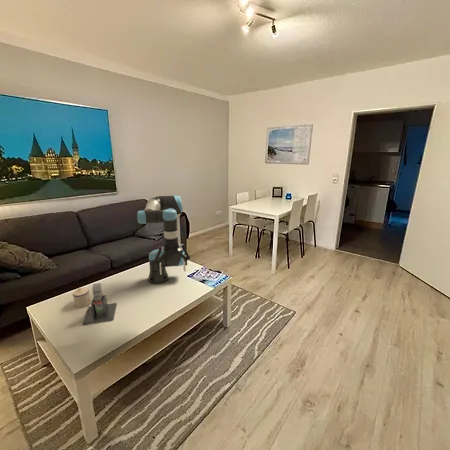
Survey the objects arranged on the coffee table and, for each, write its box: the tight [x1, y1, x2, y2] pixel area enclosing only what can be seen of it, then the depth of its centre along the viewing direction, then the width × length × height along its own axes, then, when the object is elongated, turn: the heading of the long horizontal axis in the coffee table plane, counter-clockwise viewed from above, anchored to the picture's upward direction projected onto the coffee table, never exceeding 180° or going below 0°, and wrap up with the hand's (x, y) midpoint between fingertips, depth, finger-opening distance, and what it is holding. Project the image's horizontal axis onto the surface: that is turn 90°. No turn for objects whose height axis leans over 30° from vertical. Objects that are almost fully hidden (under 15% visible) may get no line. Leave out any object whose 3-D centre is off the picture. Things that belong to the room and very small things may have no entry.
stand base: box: [82, 294, 118, 326], centre depth 149 cm, size 16×16×10 cm
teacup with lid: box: [72, 287, 91, 309], centre depth 159 cm, size 12×9×12 cm
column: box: [91, 282, 104, 314], centre depth 147 cm, size 5×4×18 cm
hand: (172, 272), depth 144 cm, fingers open, 13 cm apart
